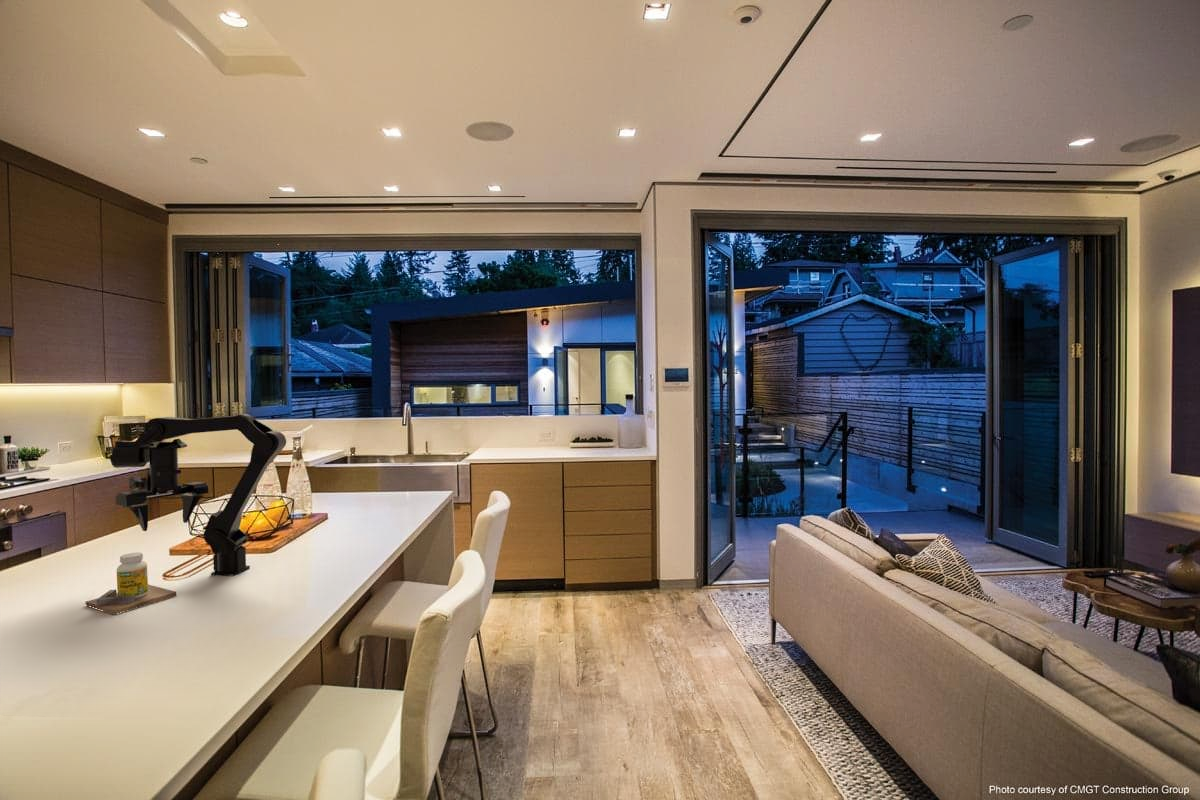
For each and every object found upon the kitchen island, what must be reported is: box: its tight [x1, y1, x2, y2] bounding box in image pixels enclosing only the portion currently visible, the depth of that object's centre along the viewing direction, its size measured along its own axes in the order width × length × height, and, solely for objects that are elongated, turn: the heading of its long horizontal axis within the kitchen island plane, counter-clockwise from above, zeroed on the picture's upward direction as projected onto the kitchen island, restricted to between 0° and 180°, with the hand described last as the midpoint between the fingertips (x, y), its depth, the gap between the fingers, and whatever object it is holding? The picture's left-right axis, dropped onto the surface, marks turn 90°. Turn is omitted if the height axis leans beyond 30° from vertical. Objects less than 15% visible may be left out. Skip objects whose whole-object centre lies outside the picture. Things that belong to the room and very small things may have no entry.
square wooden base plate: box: [85, 584, 177, 615], centre depth 128 cm, size 12×12×2 cm
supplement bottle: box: [116, 551, 149, 599], centre depth 128 cm, size 5×5×10 cm
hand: (165, 526), depth 144 cm, fingers open, 9 cm apart
